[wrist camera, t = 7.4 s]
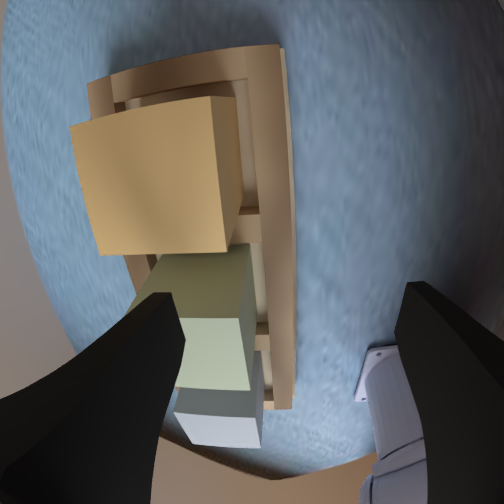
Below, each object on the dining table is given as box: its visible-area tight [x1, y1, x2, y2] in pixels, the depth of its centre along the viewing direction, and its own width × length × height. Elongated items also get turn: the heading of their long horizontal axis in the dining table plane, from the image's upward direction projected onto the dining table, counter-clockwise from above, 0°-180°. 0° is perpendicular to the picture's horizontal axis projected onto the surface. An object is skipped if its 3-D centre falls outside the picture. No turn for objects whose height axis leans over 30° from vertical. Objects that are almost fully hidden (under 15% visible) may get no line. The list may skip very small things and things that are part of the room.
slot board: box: [87, 44, 296, 410], centre depth 18 cm, size 10×26×3 cm, turn 5°
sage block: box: [125, 245, 257, 391], centre depth 15 cm, size 5×5×6 cm
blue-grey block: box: [173, 351, 265, 448], centre depth 19 cm, size 5×5×6 cm
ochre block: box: [70, 96, 244, 256], centre depth 11 cm, size 5×5×6 cm
